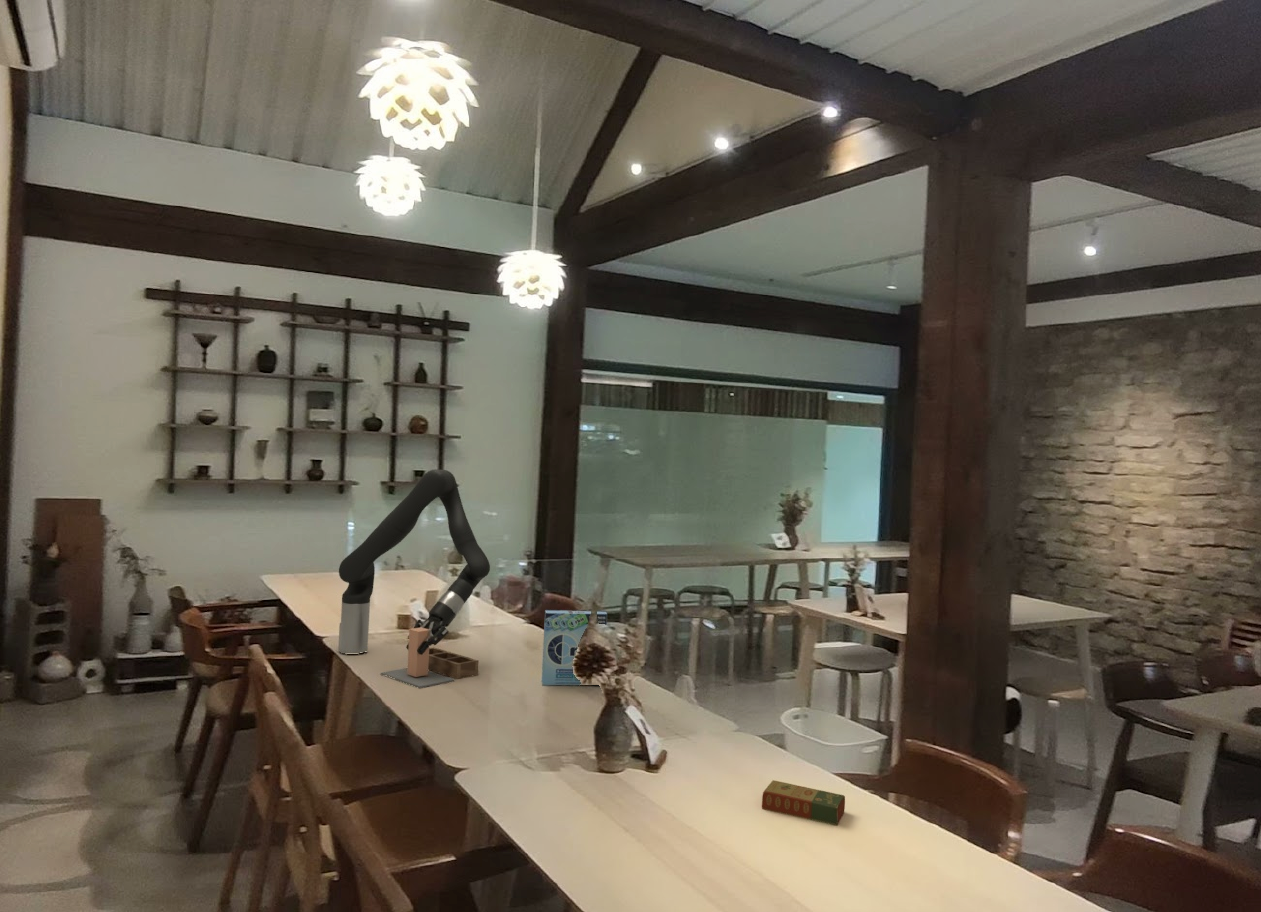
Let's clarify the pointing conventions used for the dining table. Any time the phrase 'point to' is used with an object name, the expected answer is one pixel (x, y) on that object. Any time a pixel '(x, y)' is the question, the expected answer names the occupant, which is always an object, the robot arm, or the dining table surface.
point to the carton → (803, 802)
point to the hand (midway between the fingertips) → (413, 651)
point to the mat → (418, 678)
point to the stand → (451, 663)
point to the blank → (415, 660)
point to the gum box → (563, 644)
